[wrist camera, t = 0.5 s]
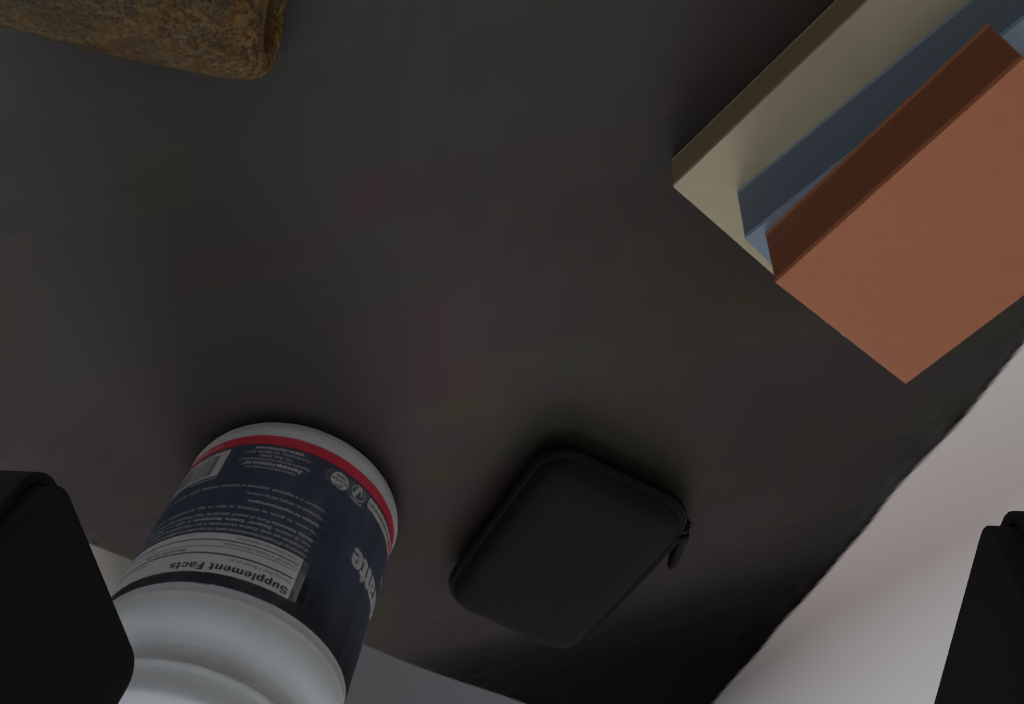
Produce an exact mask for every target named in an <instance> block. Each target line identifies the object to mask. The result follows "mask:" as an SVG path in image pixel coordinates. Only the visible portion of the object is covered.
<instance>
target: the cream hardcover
mask: <svg viewBox="0 0 1024 704" xmlns="http://www.w3.org/2000/svg"><path fill="white" fill-rule="evenodd" d="M967 1H969V0H835V1H834V2H833V3H832V4H831V5H830V6H829V7H828V8H827V9H826V10H825V11H824V12H823V13H822V14H821V15H820V16H819V17H818V18H817V19H816V20H815V21H814V22H813V23H812V24H811V25H810V26H808V27H807V28H806V29H805V30H804V31H803V32H802V33H801V34H800V35H799V36H798V37H797V38H796V39H795V40H794V41H793V42H792V43H791V44H790V45H789V46H788V47H787V48H786V49H785V50H784V51H783V52H782V53H781V54H780V55H779V56H778V57H777V58H776V59H775V60H774V61H772V62H771V63H770V64H769V65H768V66H767V67H766V68H765V69H764V70H763V71H762V72H761V73H760V74H759V75H758V76H757V77H756V78H755V79H754V80H753V81H752V82H751V83H750V84H749V85H748V86H747V87H746V88H745V89H744V90H743V91H742V92H741V93H740V94H739V95H738V96H736V97H735V98H734V99H733V100H732V101H731V102H730V103H729V104H728V105H727V106H726V107H725V108H724V109H723V110H722V111H721V112H720V113H719V114H718V115H717V116H716V117H715V118H714V119H713V120H712V121H711V122H710V123H709V124H708V125H707V126H706V127H705V128H704V129H703V130H702V131H700V132H699V133H698V134H697V135H696V136H695V137H694V138H693V139H692V140H691V141H690V142H689V143H688V144H687V145H686V146H685V147H684V148H683V149H682V150H681V151H680V152H679V153H678V154H677V155H676V156H675V157H674V158H673V159H672V169H673V187H674V188H675V189H676V190H678V191H679V192H680V193H681V194H682V195H683V196H684V197H686V198H687V199H688V200H689V201H690V202H691V203H692V204H694V205H695V206H696V207H697V208H698V209H699V210H700V211H702V212H703V213H704V214H705V215H706V216H707V217H708V218H710V219H711V220H712V221H713V222H714V223H715V224H716V225H718V226H719V227H720V228H721V229H722V230H723V231H724V232H726V233H727V234H728V235H729V236H730V237H731V238H732V239H733V240H735V241H736V242H737V243H738V244H739V245H740V246H741V247H743V248H744V249H745V250H746V251H747V252H748V253H749V254H751V255H752V256H753V257H754V258H755V259H756V260H757V261H759V262H760V263H761V264H762V265H763V266H764V267H765V268H767V269H768V270H769V271H770V272H771V273H772V274H773V275H774V273H773V268H772V265H771V264H770V263H769V262H768V261H767V260H766V259H765V258H764V257H763V256H762V255H761V254H760V253H759V252H758V251H757V250H756V249H755V248H754V247H753V246H752V245H751V244H750V243H749V242H748V241H747V240H746V239H745V236H744V229H743V223H742V217H741V212H740V206H739V200H738V194H737V190H738V189H740V188H741V187H742V186H743V185H745V184H746V183H747V182H748V181H749V180H751V179H752V178H753V177H754V176H755V175H757V174H758V173H759V172H760V171H762V170H763V169H764V168H765V167H766V166H768V165H769V164H770V163H771V162H773V161H774V160H775V159H776V158H777V157H779V156H780V155H781V154H782V153H783V152H785V151H786V150H787V149H788V148H790V147H791V146H792V145H793V144H794V143H796V142H797V141H798V140H799V139H801V138H802V137H803V136H804V135H805V134H807V133H808V132H809V131H810V130H811V129H813V128H814V127H815V126H816V125H818V124H819V123H820V122H821V121H822V120H824V119H825V118H826V117H827V116H829V115H830V114H831V113H832V112H833V111H835V110H836V109H837V108H838V107H840V106H841V105H842V104H843V103H844V102H846V101H847V100H848V99H849V98H850V97H852V96H853V95H854V94H855V93H857V92H858V91H859V90H860V89H861V88H863V87H864V86H865V85H866V84H868V83H869V82H870V81H871V80H872V79H874V78H875V77H876V76H877V75H878V74H880V73H881V72H882V71H883V70H885V69H886V68H887V67H888V66H889V65H891V64H892V63H893V62H894V61H896V60H897V59H898V58H899V57H900V56H902V55H903V54H904V53H905V52H906V51H908V50H909V49H910V48H911V47H913V46H914V45H915V44H916V43H917V42H919V41H920V40H921V39H922V38H924V37H925V36H926V35H927V34H928V33H930V32H931V31H932V30H933V29H935V28H936V27H937V26H938V25H939V24H941V23H942V22H943V21H944V20H945V19H947V18H948V17H949V16H950V15H952V14H953V13H954V12H955V11H956V10H958V9H959V8H960V7H961V6H963V5H964V4H965V3H966V2H967ZM844 337H845V336H844Z"/></svg>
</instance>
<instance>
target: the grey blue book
mask: <svg viewBox="0 0 1024 704" xmlns="http://www.w3.org/2000/svg"><path fill="white" fill-rule="evenodd" d="M986 24H988V25H989V26H990V27H991V28H993V29H994V30H995V31H996V32H997V33H998V34H999V35H1000V36H1001V37H1002V38H1003V39H1004V40H1005V41H1007V42H1008V43H1009V44H1010V45H1011V46H1012V47H1013V48H1014V49H1015V50H1016V51H1017V52H1018V53H1020V54H1021V55H1022V56H1023V57H1024V0H969V1H967V2H966V3H965V4H964V5H963V6H961V7H960V8H959V9H958V10H956V11H955V12H954V13H953V14H952V15H950V16H949V17H948V18H947V19H945V20H944V21H943V22H942V23H941V24H939V25H938V26H937V27H936V28H935V29H933V30H932V31H931V32H930V33H928V34H927V35H926V36H925V37H924V38H922V39H921V40H920V41H919V42H917V43H916V44H915V45H914V46H913V47H911V48H910V49H909V50H908V51H906V52H905V53H904V54H903V55H902V56H900V57H899V58H898V59H897V60H896V61H894V62H893V63H892V64H891V65H889V66H888V67H887V68H886V69H885V70H883V71H882V72H881V73H880V74H878V75H877V76H876V77H875V78H874V79H872V80H871V81H870V82H869V83H868V84H866V85H865V86H864V87H863V88H861V89H860V90H859V91H858V92H857V93H855V94H854V95H853V96H852V97H850V98H849V99H848V100H847V101H846V102H844V103H843V104H842V105H841V106H840V107H838V108H837V109H836V110H835V111H833V112H832V113H831V114H830V115H829V116H827V117H826V118H825V119H824V120H822V121H821V122H820V123H819V124H818V125H816V126H815V127H814V128H813V129H811V130H810V131H809V132H808V133H807V134H805V135H804V136H803V137H802V138H801V139H799V140H798V141H797V142H796V143H794V144H793V145H792V146H791V147H790V148H788V149H787V150H786V151H785V152H783V153H782V154H781V155H780V156H779V157H777V158H776V159H775V160H774V161H773V162H771V163H770V164H769V165H768V166H766V167H765V168H764V169H763V170H762V171H760V172H759V173H758V174H757V175H755V176H754V177H753V178H752V179H751V180H749V181H748V182H747V183H746V184H745V185H743V186H742V187H741V188H740V189H738V190H737V194H738V200H739V206H740V212H741V217H742V223H743V229H744V236H745V239H746V240H747V241H748V242H749V243H750V244H751V245H752V246H753V247H754V248H755V249H756V250H757V251H758V252H759V253H760V254H761V255H762V256H763V257H764V258H765V259H766V260H767V261H768V262H769V263H770V264H771V265H772V263H771V259H770V254H769V249H768V244H767V240H766V236H765V233H766V232H767V231H768V230H769V229H770V228H771V227H772V226H773V225H774V224H775V223H776V222H777V221H778V220H779V219H780V218H782V217H783V216H784V215H785V214H786V213H787V212H788V211H789V210H790V209H791V208H792V207H793V206H794V205H795V204H796V203H797V202H798V201H800V200H801V199H802V198H803V197H804V196H805V195H806V194H807V193H808V192H809V191H810V190H811V189H812V188H813V187H814V186H815V185H816V184H818V183H819V182H820V181H821V180H822V179H823V178H824V177H825V176H826V175H827V174H828V173H829V172H830V171H831V170H832V169H833V168H834V167H836V166H837V165H838V164H839V163H840V162H841V161H842V160H843V159H844V158H845V157H846V156H847V155H848V154H849V153H850V152H851V151H852V150H854V149H855V148H856V147H857V146H858V145H859V144H860V143H861V142H862V141H863V140H864V139H865V138H866V137H867V136H868V135H869V134H870V133H872V132H873V131H874V130H875V129H876V128H877V127H878V126H879V125H880V124H881V123H882V122H883V121H884V120H885V119H886V118H887V117H888V116H890V115H891V114H892V113H893V112H894V111H895V110H896V109H897V108H898V107H899V106H900V105H901V104H902V103H903V102H904V101H905V100H906V99H908V98H909V97H910V96H911V95H912V94H913V93H914V92H915V91H916V90H917V89H918V88H919V87H920V86H921V85H922V84H923V83H924V82H926V81H927V80H928V79H929V78H930V77H931V76H932V75H933V74H934V73H935V72H936V71H937V70H938V69H939V68H940V67H941V66H942V65H944V64H945V63H946V62H947V61H948V60H949V59H950V58H951V57H952V56H953V55H954V54H955V53H956V52H957V51H958V50H959V49H961V48H962V47H963V46H964V45H965V44H966V43H967V42H968V41H969V40H970V39H971V38H972V37H973V36H974V35H975V34H976V33H977V32H979V31H980V30H981V29H982V28H983V27H984V26H985V25H986ZM843 336H844V335H843Z"/></svg>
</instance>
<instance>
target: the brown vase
mask: <svg viewBox="0 0 1024 704" xmlns="http://www.w3.org/2000/svg"><path fill="white" fill-rule="evenodd" d="M286 5H287V0H0V26H2V27H6V28H10V29H14V30H16V31H20V32H23V33H27V34H31V35H34V36H38V37H42V38H45V39H49V40H52V41H55V42H59V43H63V44H67V45H71V46H75V47H79V48H82V49H86V50H90V51H95V52H100V53H104V54H107V55H112V56H116V57H120V58H125V59H130V60H133V61H138V62H142V63H146V64H150V65H154V66H159V67H164V68H168V69H174V70H182V71H188V72H194V73H199V74H203V75H208V76H212V77H220V78H229V79H237V80H253V79H257V78H260V77H262V76H265V75H266V74H268V73H269V72H270V70H271V69H272V67H273V65H274V63H275V60H276V58H277V53H278V50H279V48H280V45H281V39H282V35H283V26H284V20H285V10H286Z"/></svg>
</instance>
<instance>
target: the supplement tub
mask: <svg viewBox="0 0 1024 704" xmlns="http://www.w3.org/2000/svg"><path fill="white" fill-rule="evenodd" d="M397 531H398V517H397V509H396V505H395V501H394V498H393V495H392V493H391V490H390V488H389V486H388V484H387V483H386V481H385V479H384V478H383V476H382V475H381V474H380V472H379V471H378V470H377V468H376V467H375V466H374V465H373V464H372V463H371V462H370V461H369V460H368V459H367V458H366V457H365V456H364V455H362V454H361V453H360V452H359V451H357V450H356V449H355V448H353V447H352V446H351V445H349V444H347V443H345V442H344V441H342V440H340V439H338V438H336V437H334V436H332V435H330V434H327V433H325V432H322V431H320V430H317V429H314V428H310V427H306V426H302V425H297V424H290V423H277V422H270V423H258V424H251V425H247V426H243V427H239V428H237V429H234V430H231V431H229V432H227V433H225V434H223V435H222V436H220V437H218V438H217V439H215V440H214V441H213V442H212V443H210V444H209V445H208V446H207V447H206V448H205V449H204V450H203V451H202V452H201V453H200V454H199V455H198V457H197V458H196V459H195V461H194V463H193V465H192V467H191V469H190V471H189V472H188V474H187V475H186V477H185V479H184V480H183V482H182V483H181V485H180V487H179V488H178V490H177V491H176V493H175V495H174V496H173V498H172V499H171V501H170V503H169V504H168V506H167V507H166V509H165V510H164V512H163V514H162V515H161V517H160V519H159V520H158V522H157V523H156V525H155V527H154V528H153V530H152V532H151V533H150V535H149V536H148V538H147V540H146V541H145V543H144V544H143V546H142V548H141V549H140V551H139V552H138V554H137V556H136V557H135V559H134V560H133V562H132V564H131V565H130V567H129V569H128V571H127V572H126V573H125V575H124V577H123V578H122V580H121V581H120V583H119V585H118V586H117V588H116V590H115V591H114V593H113V595H112V596H111V598H112V601H113V603H114V606H115V608H116V610H117V613H118V615H119V618H120V620H121V622H122V625H123V627H124V630H125V632H126V634H127V637H128V639H129V642H130V644H131V646H132V649H133V653H134V671H133V675H132V678H131V681H130V683H129V685H128V688H127V689H126V691H125V693H124V695H123V696H122V698H121V700H120V702H119V703H118V704H345V701H346V697H347V694H348V690H349V687H350V683H351V680H352V677H353V674H354V670H355V667H356V664H357V661H358V657H359V654H360V651H361V648H362V645H363V641H364V638H365V635H366V632H367V629H368V625H369V622H370V619H371V616H372V613H373V609H374V606H375V603H376V600H377V597H378V594H379V590H380V587H381V584H382V580H383V577H384V574H385V571H386V567H387V564H388V561H389V558H390V555H391V552H392V549H393V547H394V544H395V541H396V537H397Z"/></svg>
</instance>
